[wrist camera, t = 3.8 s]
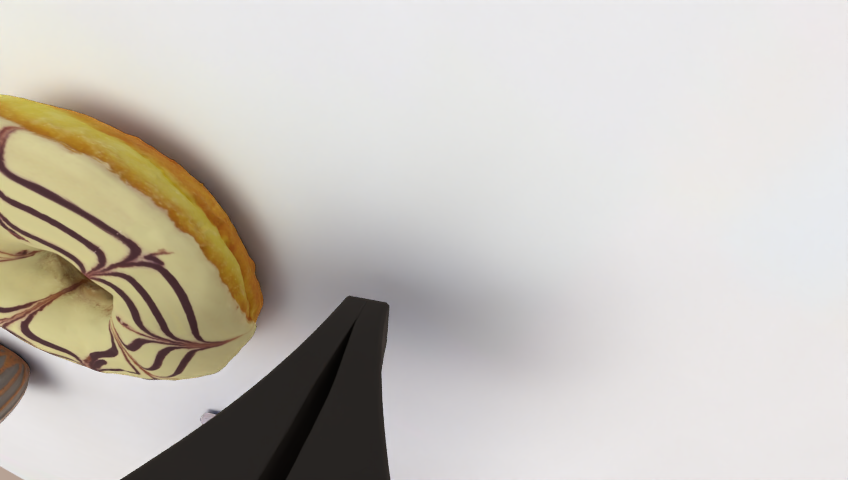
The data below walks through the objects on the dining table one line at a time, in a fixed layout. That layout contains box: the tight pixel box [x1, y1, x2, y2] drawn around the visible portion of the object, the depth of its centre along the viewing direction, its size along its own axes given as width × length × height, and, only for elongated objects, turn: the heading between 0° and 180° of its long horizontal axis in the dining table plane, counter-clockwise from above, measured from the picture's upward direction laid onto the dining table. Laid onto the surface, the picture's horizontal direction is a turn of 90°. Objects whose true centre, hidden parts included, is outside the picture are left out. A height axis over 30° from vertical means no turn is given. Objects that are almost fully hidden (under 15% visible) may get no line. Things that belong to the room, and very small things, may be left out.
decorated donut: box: [0, 95, 263, 380], centre depth 11 cm, size 10×11×4 cm
